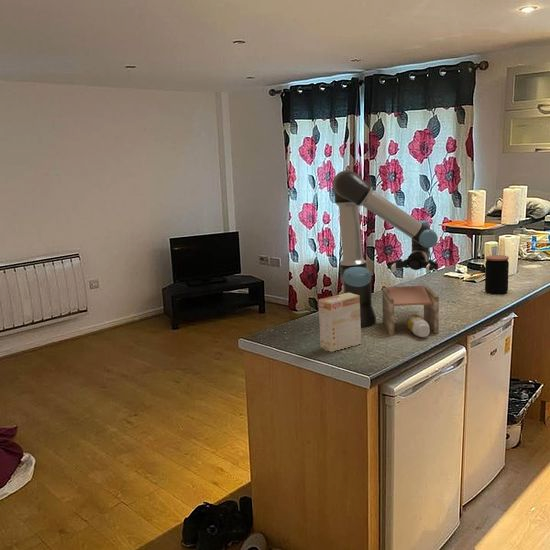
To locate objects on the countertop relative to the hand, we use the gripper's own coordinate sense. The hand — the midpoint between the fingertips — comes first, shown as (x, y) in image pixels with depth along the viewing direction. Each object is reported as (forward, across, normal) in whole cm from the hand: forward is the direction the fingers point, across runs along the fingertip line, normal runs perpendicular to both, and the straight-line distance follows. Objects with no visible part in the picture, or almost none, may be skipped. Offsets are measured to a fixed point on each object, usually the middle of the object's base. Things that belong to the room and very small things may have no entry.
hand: (409, 270), depth 218 cm
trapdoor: (-7, +1, -13) cm, 14 cm away
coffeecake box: (+23, +22, -26) cm, 41 cm away
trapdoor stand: (-6, +1, -26) cm, 26 cm away
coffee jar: (-71, -31, -26) cm, 82 cm away
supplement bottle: (-3, -1, -22) cm, 22 cm away
